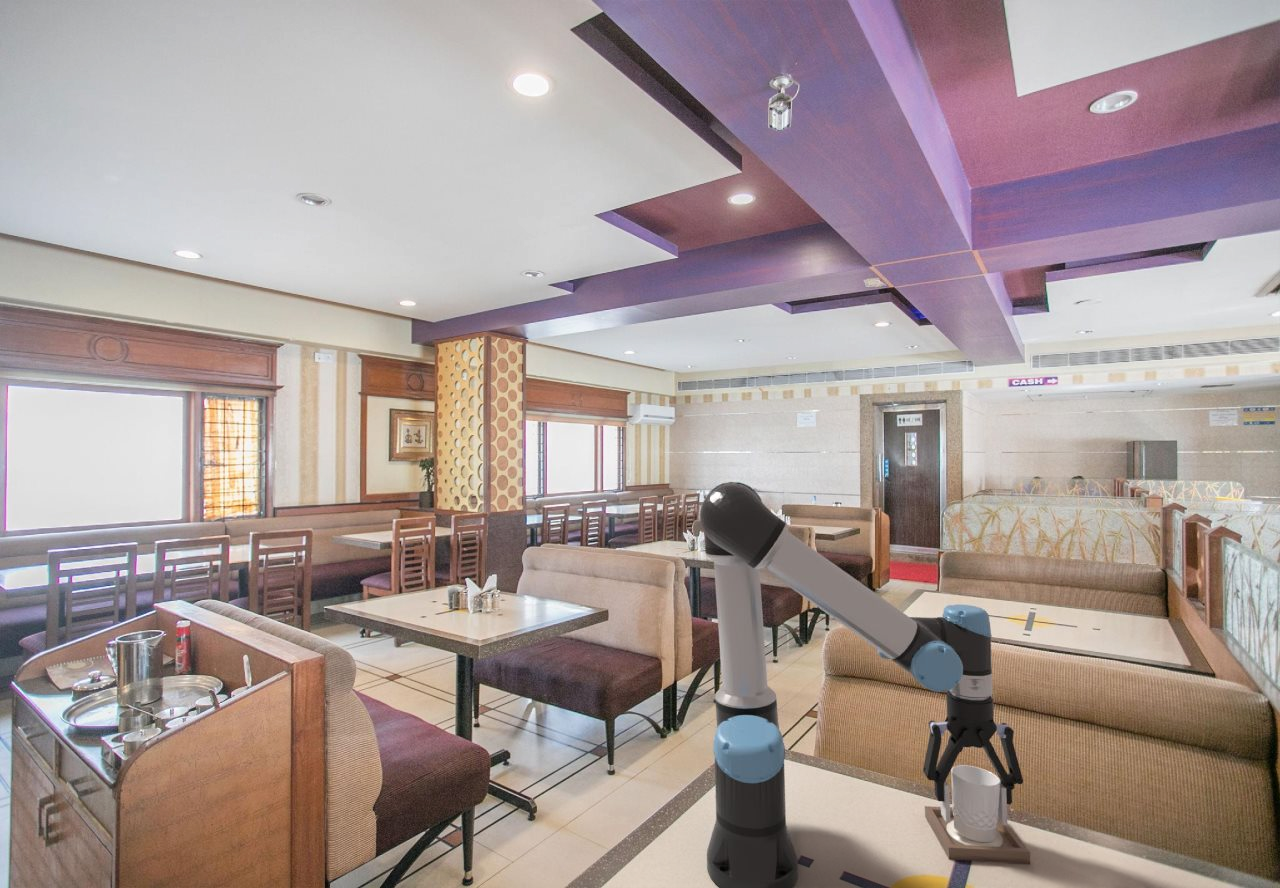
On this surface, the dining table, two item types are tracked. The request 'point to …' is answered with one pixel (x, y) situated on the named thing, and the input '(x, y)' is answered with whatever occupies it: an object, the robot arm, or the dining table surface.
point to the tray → (977, 842)
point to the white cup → (975, 802)
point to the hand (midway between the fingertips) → (973, 819)
